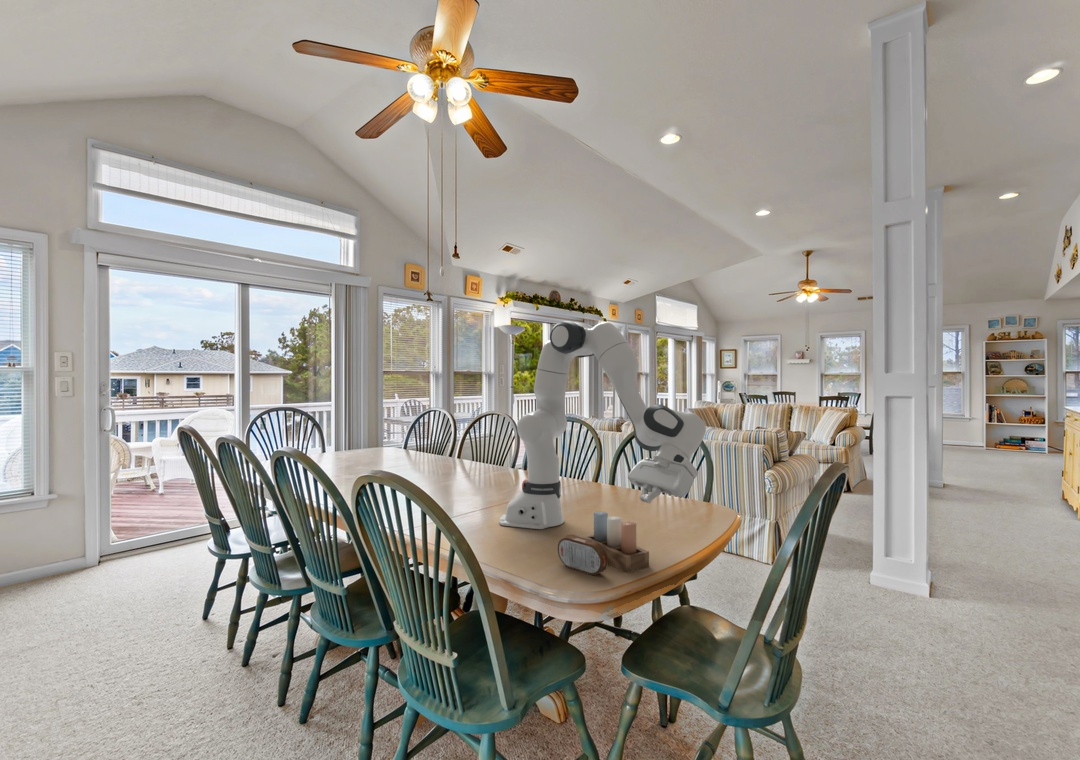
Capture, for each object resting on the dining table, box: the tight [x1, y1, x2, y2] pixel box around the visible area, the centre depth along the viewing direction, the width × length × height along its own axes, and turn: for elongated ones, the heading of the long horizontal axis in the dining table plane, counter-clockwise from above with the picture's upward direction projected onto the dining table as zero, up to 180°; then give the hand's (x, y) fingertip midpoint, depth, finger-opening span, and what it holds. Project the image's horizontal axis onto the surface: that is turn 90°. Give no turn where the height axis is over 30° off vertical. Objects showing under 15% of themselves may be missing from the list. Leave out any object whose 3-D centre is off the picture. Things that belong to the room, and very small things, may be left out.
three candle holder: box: [581, 534, 650, 574], centre depth 141 cm, size 19×8×4 cm, turn 31°
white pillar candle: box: [607, 515, 623, 548], centre depth 141 cm, size 4×4×8 cm
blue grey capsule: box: [593, 511, 609, 542], centre depth 146 cm, size 4×4×8 cm
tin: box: [557, 534, 609, 576], centre depth 133 cm, size 15×3×8 cm, turn 48°
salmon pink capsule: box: [621, 521, 637, 555], centre depth 136 cm, size 4×4×8 cm
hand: (644, 501), depth 139 cm, fingers closed
